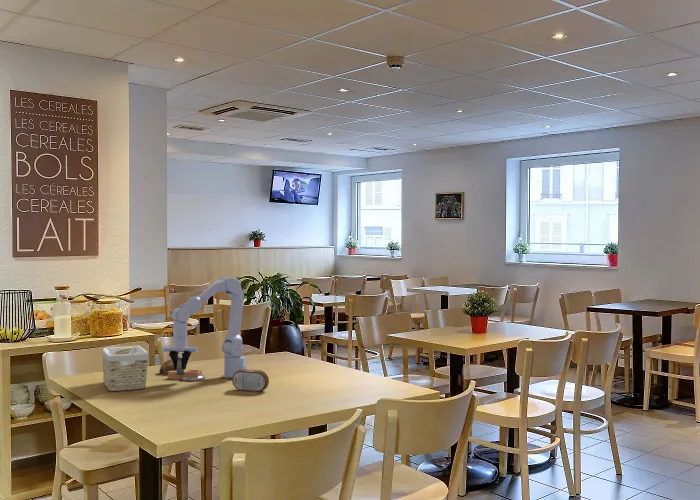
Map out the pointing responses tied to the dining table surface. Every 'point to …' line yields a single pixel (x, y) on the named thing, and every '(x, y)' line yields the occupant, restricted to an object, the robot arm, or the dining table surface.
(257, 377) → the tin
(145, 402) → the dining table surface
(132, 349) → the storage basket
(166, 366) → the bread roll
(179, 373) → the pin
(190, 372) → the bracket
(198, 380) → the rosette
